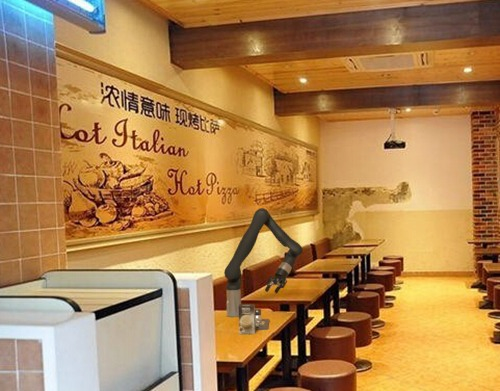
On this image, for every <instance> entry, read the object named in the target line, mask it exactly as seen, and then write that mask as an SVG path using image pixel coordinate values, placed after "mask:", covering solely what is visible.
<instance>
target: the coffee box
mask: <svg viewBox="0 0 500 391" xmlns="http://www.w3.org/2000/svg"><path fill="white" fill-rule="evenodd" d="M255 307H256V304H254V303H251V304H250V303H249V304H248V303H247V304H246V303H244V304H243V303H241V304H239V306H238V308H239V316H238V334H239V335H255V333H256V330H255V309H256V308H255Z"/></svg>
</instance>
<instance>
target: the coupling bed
mask: <svg viewBox="0 0 500 391" xmlns="http://www.w3.org/2000/svg"><path fill="white" fill-rule="evenodd" d="M269 326H270V318H261V323H260V324H259V322H256V323H255V331H256V330H257V331H262V330H263V331H265V330H266V331H267V330H269Z"/></svg>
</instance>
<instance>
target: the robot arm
mask: <svg viewBox="0 0 500 391" xmlns="http://www.w3.org/2000/svg"><path fill="white" fill-rule="evenodd" d="M264 226H266V227H267V228H268V229H269V230H270V232H271V233H272V235H273V236H274V238H275V239H276V240H277V241H278V243H280V244H281V245H282V246H283V247H284V248H288V251H287V253H286V255H285V257H284V259H283V260H282V262H281V264H279V267H278V268H277V269H276V271H275V272H274V276H273V277H272V276H270V277H269V278H268V280H266V283H265V284H266V286H265V289H264V290H265V292H266V293H268V292H269V290H270V289H271V288H272V287H274V286H276V288H275V289H274V291H273V292H274V293H275V294H278V293H279V292H280V290H281V289H284V288H285V286H286V285H287V282H288V280H287V278H288V276H289V274H291V270H292V268H293V267H294V265H295V263H296V260H297V258H298V257H299V256H300V255H302V253H304V252H303V247H302V245H301V244H300V243H298V242H297V241H296V240H294V239H292V238H291V237H290V235H288V233H286V231H285V230H284V229H283V228H281V227H280V225H278V223H277V222H276V220H275V219H274V218H273V217H272V215H271V214H270V213H269V210H267V209H266V208H264V207H263V208H262V207H261V208H258V209H256V211H255V212H254V214H253V217H252V219H251V222H250V225H249V226H248V228H247V229H246V230H245V232H244V234H243V236H242V237H241V239H240V241H239V243H238V245H237V247H236V249H235V251H234V254H233V256H232V258H231V260H229V263H228V264H227V265H226V267H225V269H224V272H223V274H224V276H225V278H226V279H227V284H226V286H225V287H226V316H227V317H231V318H236V317H239V308H238V306H239V304H242V293H241V285H242V269H241V266H242V264H243V262H244V261H245V260H246V259H247V257H248V256H249V255H250V253H251V252H252V251H253V249H254V247H255V244H256V242H257V239H258V238H259V233H260V231H261V230H262V228H263V227H264Z"/></svg>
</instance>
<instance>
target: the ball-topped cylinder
mask: <svg viewBox="0 0 500 391" xmlns="http://www.w3.org/2000/svg"><path fill="white" fill-rule="evenodd" d="M261 319H262V309H260V308H255V323H256V322H259V324H260V323H261Z"/></svg>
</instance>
